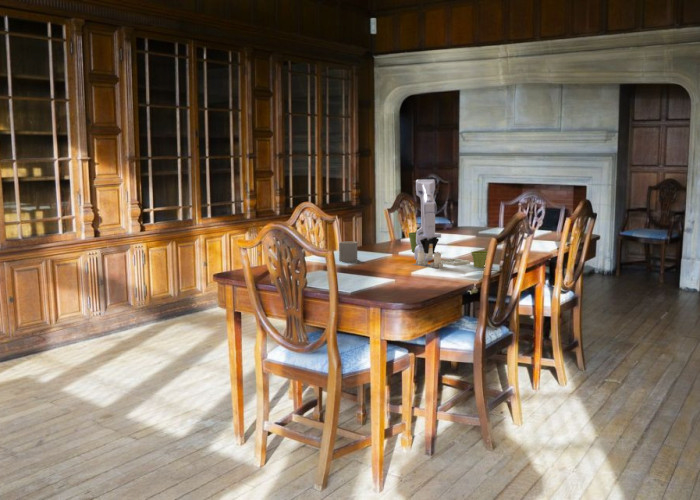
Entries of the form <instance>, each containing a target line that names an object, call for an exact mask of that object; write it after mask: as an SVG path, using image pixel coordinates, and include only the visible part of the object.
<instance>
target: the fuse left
mask: <svg viewBox="0 0 700 500" xmlns="http://www.w3.org/2000/svg"><path fill="white" fill-rule="evenodd" d="M422 261H425V253H424V251H423V250H419V251H418V265H422ZM418 265H417V266H418Z"/></svg>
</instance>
